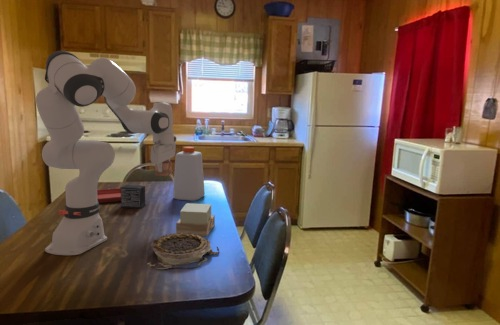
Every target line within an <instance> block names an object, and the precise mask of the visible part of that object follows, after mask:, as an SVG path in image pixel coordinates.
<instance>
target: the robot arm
mask: <svg viewBox="0 0 500 325" xmlns="http://www.w3.org/2000/svg"><path fill="white" fill-rule="evenodd" d="M44 80H45V82H46V83H47V84H48V86H46V87H45V88H42V89H41V90H40V91H38V92H37V94H36V97H35V104H36V108H37V112H38V114H39V116H40V119H41V121H42V123H43V125H44V127H45V129H46V131H47V133H48V135H49V137H50V140H49V141H47V142H46V143H45V144H44V146H43V148H42V150H41V157H42V158H41V159H42V161H43V162H44V163H45V165H46V166H48V167H51V168H55V169H59V170H79V174H78V176H77V177H74V178H72V179H71V180H69V181H68V182H67V183H66V185H65V187H64V190H65V191H64V192H65V206H64V209H59V210H58V215H59V216H63V217H62V219H61V221H60V222H59V224H58V225H57V227H56V228H55V230H53V233H52V238H51V241H52V242H51V243H50V244H49V245H48V246H46V247H45V248H44V251H45V252H46V253H47V254H51V255H56V256H77V255H82V254H83V253H85V252H87V251H88V250H91V249H92V248H94V247H97V246H99V245H101V244H102V243H104V242H106V241H107V240H108V236H106V235H105V231H104V230H105V229H104V223H103V219H102V217H101V216H100V213H99V212H100V203H99V202H98V199H97V190H98V186H99V185H98V184H99V180H100V178H101V176H102V175H103V173H104V172H105V171H106V170H107V169H109V168H110V167H111V166H113V165H112V164H114V161H115V157H116V153H115V149H114V147H113V146H112V144H110V142H106V141H102V140H94V139H89V140H88V139H81V138H82V137H83V135H84V133H85V125H84V123H83V121H82V118H81V116H80V114H79V112H78V110H77V108H76V107H80V108H81V107H82V108H83V107H87V106H90V105H93V103H95V102H96V101H97V100H99V99H100V97H101V96H103V97H104V98H103V99H104V102H105V104H106V105H107V107H108V108H109V109H110V111H111V112H112V113H113V114H114V115H115V117H116V118H117V119H118V120H119V122H120V124H121V127H122V128H123V130H124V131H125V132H126V133H127V134H147V135H152V143H153V145H152V146H151V149H150V163H151V164H153V165H155V164H157V167H158V172H162V171H163V167H162V162H163V161H171V158H174V157H175V156H176V149H177V148H176V147H177V145H176V142H177V136H176V135H174V130H173V129H174V128H173V126H174V114H173V113H174V112H173V107H172V105H171V103H168V102H163V101H155V102H153V106H152V107H151V108H150V109H149V110H145V109H144V110H143V109H142V110H141V109H133V108H130V107H129V106H128V105H130V104H131V103H132V102H133V100H134V99H135V97H136V93H137V88H136V85H135V82H134V80H132V78H131V76H129V75H128V74H127V73H126V72H125V71H124V70H123V68H121V67H120V66H118V64H116V63H115V62H114V61H112V60H111V59H110V58H107V57H100V58H99V57H98V58H97V59H95V60H93V61H92V62H91V63H90V64H84V63H83V62H82V60H80V59H79V57H77V56H76V55H75V54H73V53H71V52H70V51H66V50H57V51H54V52H52V53H51V54H49V56H48V57H47V58H46V62H45V74H44Z"/></svg>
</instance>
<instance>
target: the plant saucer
mask: <svg viewBox="0 0 500 325" xmlns="http://www.w3.org/2000/svg"><path fill="white" fill-rule="evenodd" d="M97 199H98V202H99V204H103V203H115V202H121V189H120V188H108V189H97Z"/></svg>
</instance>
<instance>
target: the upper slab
mask: <svg viewBox="0 0 500 325" xmlns="http://www.w3.org/2000/svg"><path fill="white" fill-rule="evenodd" d="M179 214H180V215H179V216H180V218H179V220H180V223H194V224H207V223H208V221H209V219H210V217H211V215H212V204H209V203H194V202H193V203H189V202H187V203H185V205H184V206H183V207H182V208H181V210H180V211H179Z"/></svg>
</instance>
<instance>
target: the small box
mask: <svg viewBox="0 0 500 325" xmlns="http://www.w3.org/2000/svg"><path fill="white" fill-rule="evenodd" d="M120 189H121V201H120V206H121V208H127V209H142V208H144V207H145V206H146V185H138V184H124V185H123V186H120Z"/></svg>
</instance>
